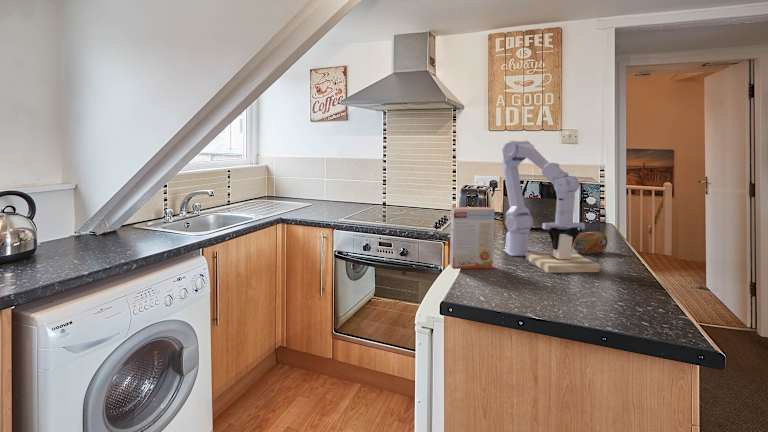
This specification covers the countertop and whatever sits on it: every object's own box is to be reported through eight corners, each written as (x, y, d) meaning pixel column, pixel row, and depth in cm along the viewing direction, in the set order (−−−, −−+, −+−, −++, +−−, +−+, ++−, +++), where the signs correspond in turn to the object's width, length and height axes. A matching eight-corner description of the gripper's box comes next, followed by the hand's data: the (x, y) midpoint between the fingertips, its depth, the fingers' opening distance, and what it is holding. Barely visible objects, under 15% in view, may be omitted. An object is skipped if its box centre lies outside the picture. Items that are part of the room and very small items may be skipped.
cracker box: (487, 264, 150) (490, 206, 147) (492, 269, 144) (495, 208, 141) (448, 264, 149) (450, 206, 146) (452, 269, 144) (454, 208, 140)
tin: (575, 254, 166) (577, 233, 165) (570, 252, 169) (571, 232, 168) (607, 252, 170) (609, 231, 169) (601, 250, 173) (603, 230, 172)
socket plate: (525, 258, 158) (526, 252, 158) (571, 258, 160) (572, 251, 159) (547, 272, 140) (548, 265, 140) (599, 271, 142) (600, 264, 141)
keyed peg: (558, 259, 147) (560, 236, 146) (551, 255, 153) (552, 233, 151) (570, 259, 147) (572, 236, 146) (562, 255, 153) (564, 233, 152)
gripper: (550, 212, 142) (547, 251, 145) (591, 212, 144) (587, 251, 146) (540, 209, 149) (538, 247, 151) (579, 209, 150) (576, 246, 153)
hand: (561, 248), depth 149 cm, fingers closed on keyed peg, 4 cm apart
